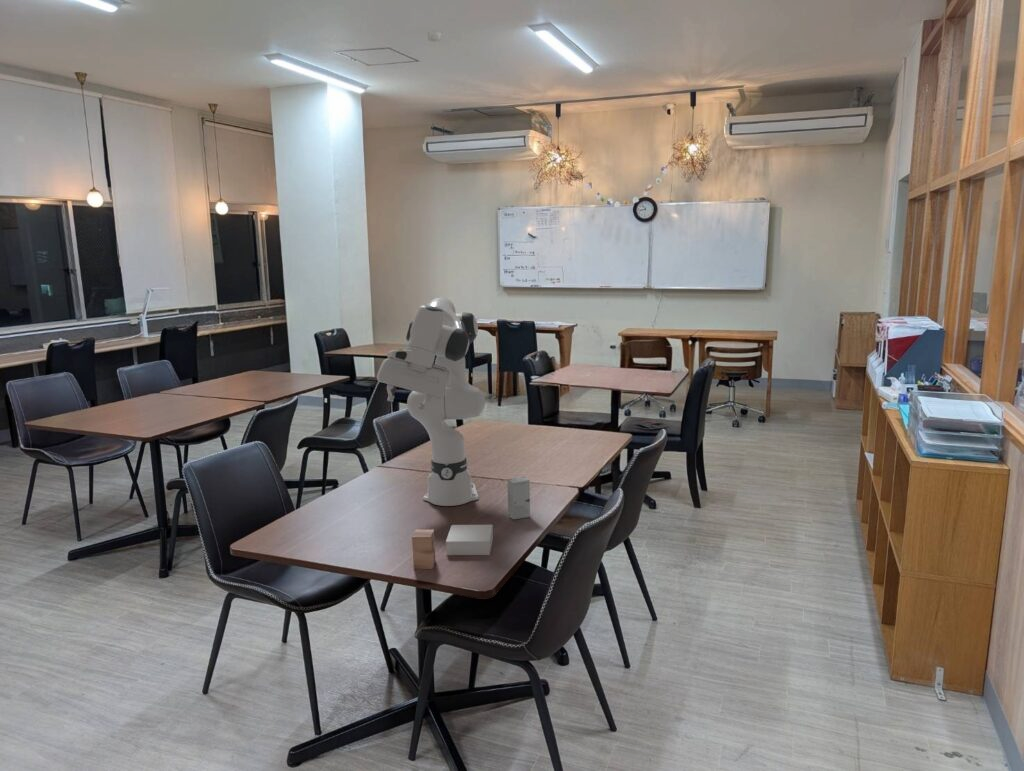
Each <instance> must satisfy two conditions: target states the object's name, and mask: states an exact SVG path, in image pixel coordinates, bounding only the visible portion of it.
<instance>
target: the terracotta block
mask: <svg viewBox="0 0 1024 771" xmlns="http://www.w3.org/2000/svg"><path fill="white" fill-rule="evenodd" d="M411 544H412V559H413V560H412V561H413V563H412V564H413V570H433V569H434V566H435V564H434V563H436V544H435V530H434V529H415V530H414V531H413V534H412V536H411Z"/></svg>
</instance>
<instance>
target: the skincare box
mask: <svg viewBox="0 0 1024 771" xmlns="http://www.w3.org/2000/svg"><path fill="white" fill-rule="evenodd" d="M506 480H507V481H506V482H507V516H508V517H509V518H511V519H512V520H518V519H525V518H529V517H530V516H531V504H530V503H531V498H530V495H531V494H530V486H531V485H530V484H531V483H530V479H529V478H527V477H525V476H520V477H519V476H518V477H513V478H507V479H506Z"/></svg>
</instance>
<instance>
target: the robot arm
mask: <svg viewBox="0 0 1024 771" xmlns="http://www.w3.org/2000/svg"><path fill="white" fill-rule="evenodd" d="M478 332H479V324H478V320H477V319H476V318H475V315H474V314H473V313H471V312H462V313H459V312H456V307H455V305H454V302H452V301H451V300H450V299H449V298H447V297H445V296H444V297H443V296H442V297H436V298H433V299H431V300H430V301H429V302H427V303H426V304H422V305H419V306H418V309H417V311H416V313H415V315H414V318H413V321H411V322H410V323H409V327H408V329H407V334H406V337H405V338H406V341H407V343H406V345H405V348H404V349H394V350H393V349H392V350H389V351H388V352H387V354H386V357H387V358H385V359H384V360H383V361H382V362H381V364H380V367H379V369H378V371H377V374H376V379H377V382H379V383H384V384H386V385H387V386H386V391H387V394H388V396H387V402H391V403H393V402H394V399H395V395H393V393H392V390H393V389H394V387H396V388H397V387H398V388H401V389H405V390H409V391H411V392H410V393H409V394H408V397H407V401H406V406H407V407H406V408H407V410H408V413H409V415H410V416H411V417H412V418H414V419H415V420H417V421H418V422H419V423H420V424H421V425H422V426H423V427H424V429H425V430H426V432H427V434H428V437H429V439H430V446H431V447H430V448H431V457H432V458H431V460H430V462H431V463H430V466H431V473H429V475H428V476H427V493H426V494H424V495H423V497H422V500H423V501H426V502H429V503H431V504H433V505H434V506H435V505H437V506H442V507H448V506H449V507H451V506H452V507H453V506H460V505H464V504H467V503H469V502H473V501H477V500H479V494H478V491H477V489H476V488H477V487H476V484H475V483H473V482H472V475H471V474H470V472H469V470H468V461H467V458H466V450H465V449H466V448H465V447H466V446H465V437H464V435H463V433H461V432H460V431H459V430H457V429H455V428H453V427H451V426H449V425H448V424H447V422H446V421H447V420H469V419H473V418H476V417H480V416H481V414H482V413H483V412H484V410H485V407H486V397H485V395H484V393H483V392H482V390H481V389H480V388H479V387H476V386H473V385H472V384H470V383H469V382H468V381H467V380H466V357H465V356H466V355H467V352H468V351H469V347H470V345H471V344H472V343H473V342H475V340H476V338H477V336H478Z"/></svg>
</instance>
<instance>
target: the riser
mask: <svg viewBox="0 0 1024 771" xmlns="http://www.w3.org/2000/svg"><path fill="white" fill-rule="evenodd" d="M493 527H494V525H493V524H451V526H450V528H449V531H448V534H447V537H446V539H445V553H446V556H490V555H491V550H492V545H493V539H494V528H493Z"/></svg>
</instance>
